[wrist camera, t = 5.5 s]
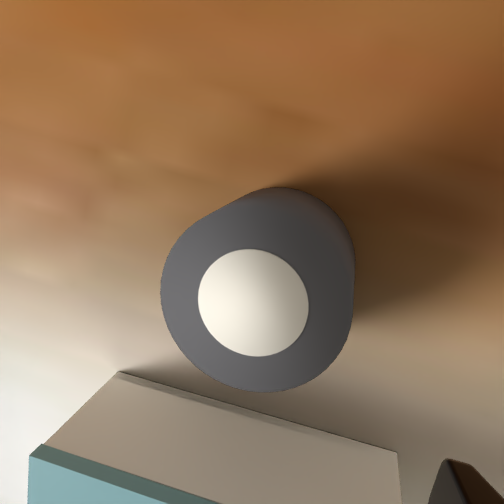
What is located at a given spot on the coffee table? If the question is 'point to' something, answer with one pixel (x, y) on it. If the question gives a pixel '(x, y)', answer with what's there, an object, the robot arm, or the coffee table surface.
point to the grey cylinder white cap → (262, 290)
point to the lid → (93, 483)
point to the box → (224, 449)
